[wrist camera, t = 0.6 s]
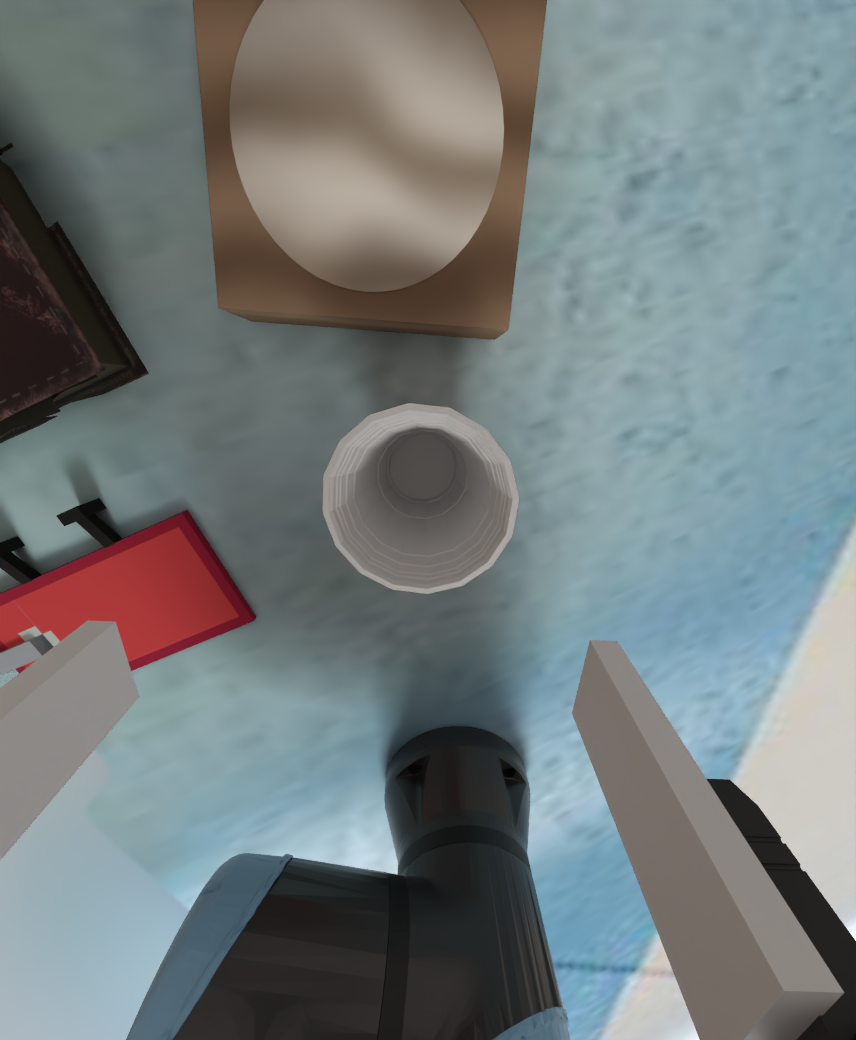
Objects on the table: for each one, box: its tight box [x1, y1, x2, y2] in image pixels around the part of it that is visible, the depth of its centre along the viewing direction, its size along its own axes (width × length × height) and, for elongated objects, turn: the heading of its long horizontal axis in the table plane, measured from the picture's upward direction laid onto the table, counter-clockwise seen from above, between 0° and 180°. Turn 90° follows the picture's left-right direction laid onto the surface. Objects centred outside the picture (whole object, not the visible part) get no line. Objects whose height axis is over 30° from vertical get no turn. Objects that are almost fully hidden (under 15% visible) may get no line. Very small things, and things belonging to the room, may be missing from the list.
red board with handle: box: [0, 498, 256, 675], centre depth 36 cm, size 30×3×15 cm
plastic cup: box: [323, 403, 519, 594], centre depth 27 cm, size 11×11×12 cm
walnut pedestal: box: [193, 0, 547, 340], centre depth 24 cm, size 18×18×5 cm
